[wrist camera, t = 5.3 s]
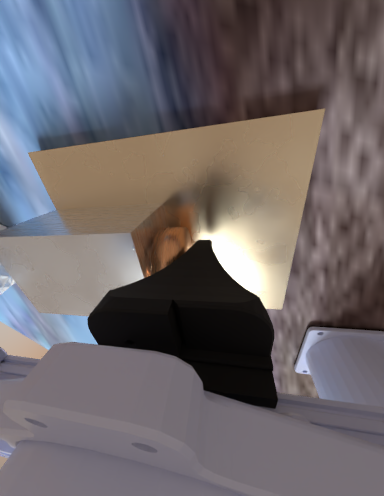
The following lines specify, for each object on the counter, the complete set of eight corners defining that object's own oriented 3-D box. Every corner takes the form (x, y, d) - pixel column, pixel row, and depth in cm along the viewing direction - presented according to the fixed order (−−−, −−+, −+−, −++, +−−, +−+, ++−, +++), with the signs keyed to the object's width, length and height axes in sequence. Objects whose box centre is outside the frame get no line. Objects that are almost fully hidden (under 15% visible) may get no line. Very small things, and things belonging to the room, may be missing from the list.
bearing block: (315, 112, 9) (431, 67, 4) (278, 300, 16) (304, 372, 11) (41, 152, 13) (-85, 155, 7) (107, 293, 19) (65, 345, 14)
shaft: (188, 217, 12) (173, 246, 8) (194, 265, 14) (184, 304, 10) (51, 224, 14) (-5, 248, 10) (73, 264, 16) (32, 297, 12)
